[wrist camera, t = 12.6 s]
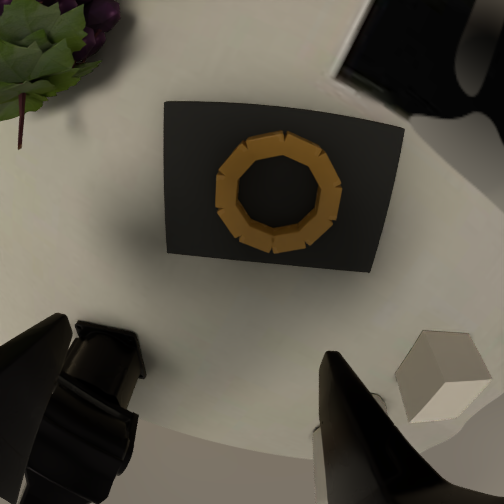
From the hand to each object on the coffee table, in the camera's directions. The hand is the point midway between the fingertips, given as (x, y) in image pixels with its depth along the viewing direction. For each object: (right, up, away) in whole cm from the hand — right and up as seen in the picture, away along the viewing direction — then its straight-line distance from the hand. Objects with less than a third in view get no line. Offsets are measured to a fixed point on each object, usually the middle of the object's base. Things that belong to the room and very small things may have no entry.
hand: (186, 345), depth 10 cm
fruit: (-9, +18, +4) cm, 21 cm away
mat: (+4, +7, +9) cm, 12 cm away
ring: (+4, +7, +9) cm, 12 cm away
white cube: (+20, -7, +16) cm, 26 cm away
